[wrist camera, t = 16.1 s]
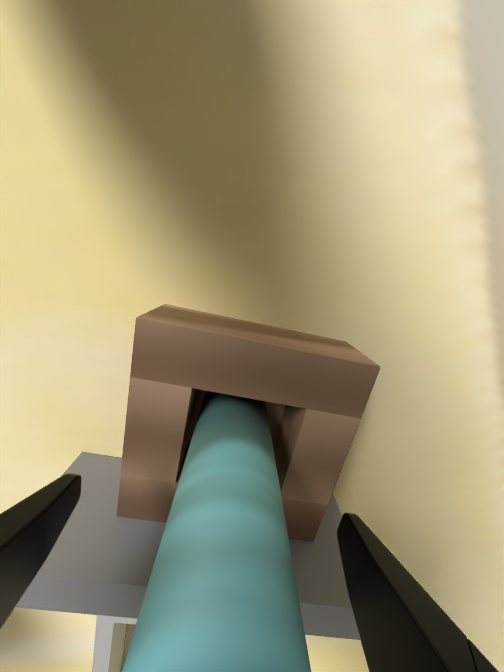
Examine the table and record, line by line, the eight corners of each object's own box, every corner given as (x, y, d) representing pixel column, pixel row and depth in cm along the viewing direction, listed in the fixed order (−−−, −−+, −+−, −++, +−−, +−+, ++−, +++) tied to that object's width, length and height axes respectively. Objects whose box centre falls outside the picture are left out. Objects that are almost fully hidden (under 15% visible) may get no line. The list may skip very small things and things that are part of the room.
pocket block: (167, 303, 13) (136, 317, 9) (343, 339, 14) (380, 366, 10) (147, 455, 16) (116, 516, 12) (297, 478, 17) (313, 541, 13)
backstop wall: (82, 452, 15) (-20, 568, 9) (331, 489, 16) (379, 611, 11) (80, 478, 15) (-16, 604, 10) (322, 512, 17) (363, 640, 11)
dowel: (210, 372, 13) (123, 647, 4) (273, 387, 14) (347, 673, 4) (196, 428, 14) (97, 768, 5) (256, 441, 15) (282, 780, 5)
